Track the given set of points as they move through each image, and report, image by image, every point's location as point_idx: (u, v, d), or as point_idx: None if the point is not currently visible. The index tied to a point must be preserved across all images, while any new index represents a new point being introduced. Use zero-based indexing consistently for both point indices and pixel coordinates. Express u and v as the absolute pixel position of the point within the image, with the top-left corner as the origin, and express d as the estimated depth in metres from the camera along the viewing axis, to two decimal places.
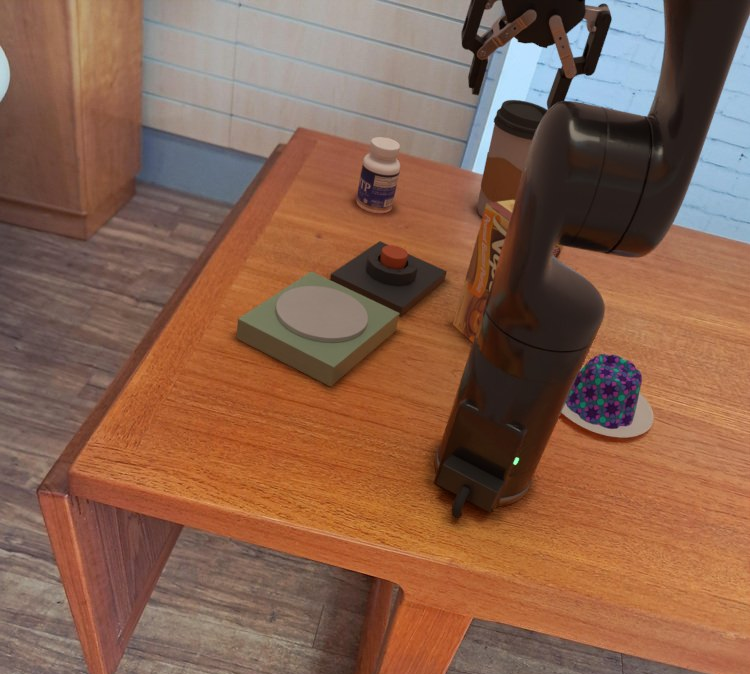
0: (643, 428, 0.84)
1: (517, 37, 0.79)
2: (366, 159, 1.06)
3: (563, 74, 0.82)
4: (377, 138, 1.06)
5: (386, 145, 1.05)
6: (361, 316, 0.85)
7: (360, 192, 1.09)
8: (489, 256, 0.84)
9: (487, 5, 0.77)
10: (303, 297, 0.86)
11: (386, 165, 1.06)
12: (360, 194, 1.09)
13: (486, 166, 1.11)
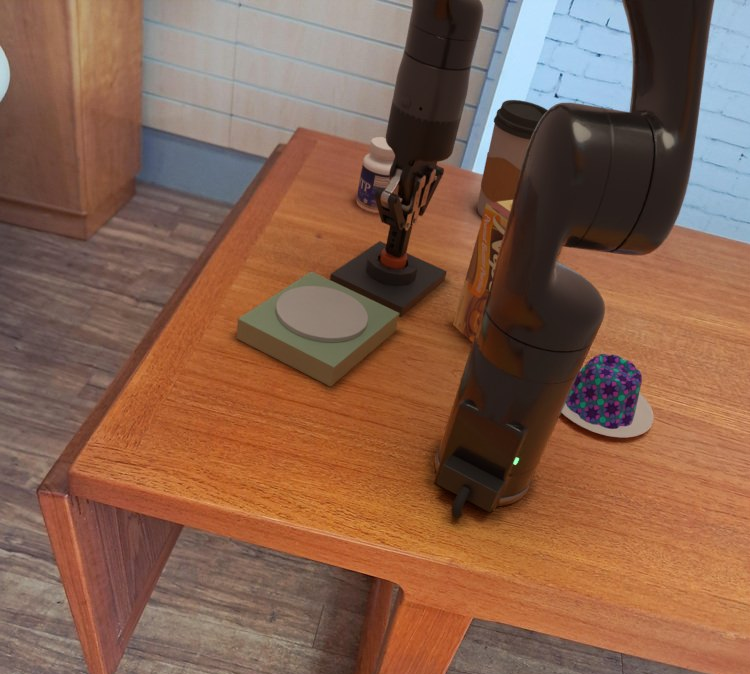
0: (643, 428, 0.84)
1: (409, 200, 0.88)
2: (366, 159, 1.06)
3: None
4: (377, 138, 1.06)
5: (386, 145, 1.05)
6: (361, 316, 0.85)
7: (360, 192, 1.09)
8: (489, 256, 0.84)
9: (400, 200, 0.85)
10: (303, 297, 0.86)
11: (386, 165, 1.06)
12: (360, 194, 1.09)
13: (486, 166, 1.11)
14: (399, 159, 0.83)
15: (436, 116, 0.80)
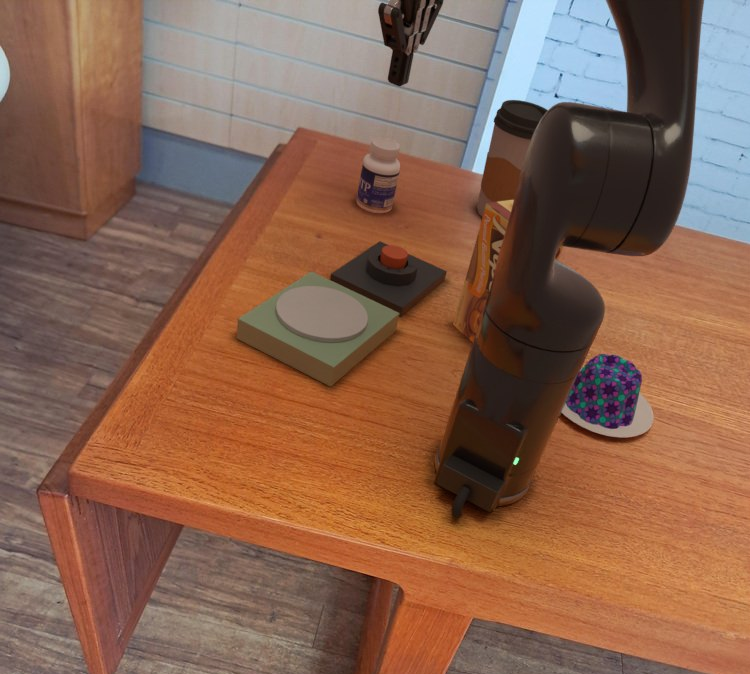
0: (643, 428, 0.84)
1: (410, 21, 0.93)
2: (366, 159, 1.06)
3: None
4: (377, 138, 1.06)
5: (386, 145, 1.05)
6: (361, 316, 0.85)
7: (360, 192, 1.09)
8: (489, 256, 0.84)
9: (402, 16, 0.91)
10: (303, 297, 0.86)
11: (386, 165, 1.06)
12: (360, 194, 1.09)
13: (486, 166, 1.11)
14: None
15: None
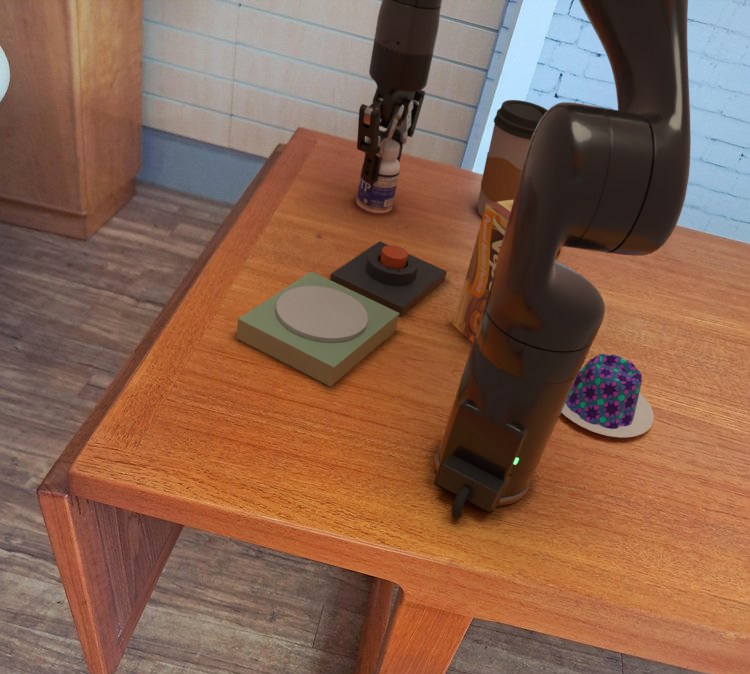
0: (643, 428, 0.84)
1: None
2: None
3: (399, 143, 1.08)
4: None
5: (386, 145, 1.05)
6: (361, 316, 0.85)
7: (360, 192, 1.09)
8: (489, 256, 0.84)
9: (380, 120, 0.98)
10: (303, 297, 0.86)
11: (386, 165, 1.06)
12: (360, 194, 1.09)
13: (486, 166, 1.11)
14: (381, 89, 0.98)
15: (411, 49, 0.94)
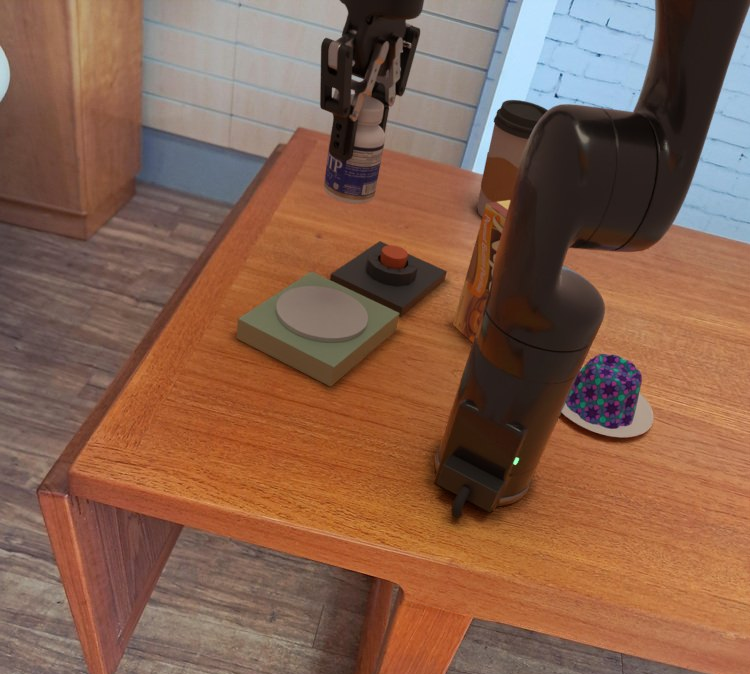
0: (643, 428, 0.84)
1: None
2: None
3: (384, 105, 0.75)
4: (351, 95, 0.74)
5: (364, 104, 0.73)
6: (361, 316, 0.85)
7: (328, 173, 0.77)
8: (489, 256, 0.84)
9: (353, 63, 0.66)
10: (303, 297, 0.86)
11: (364, 133, 0.73)
12: (328, 176, 0.77)
13: (486, 166, 1.11)
14: (353, 16, 0.66)
15: None
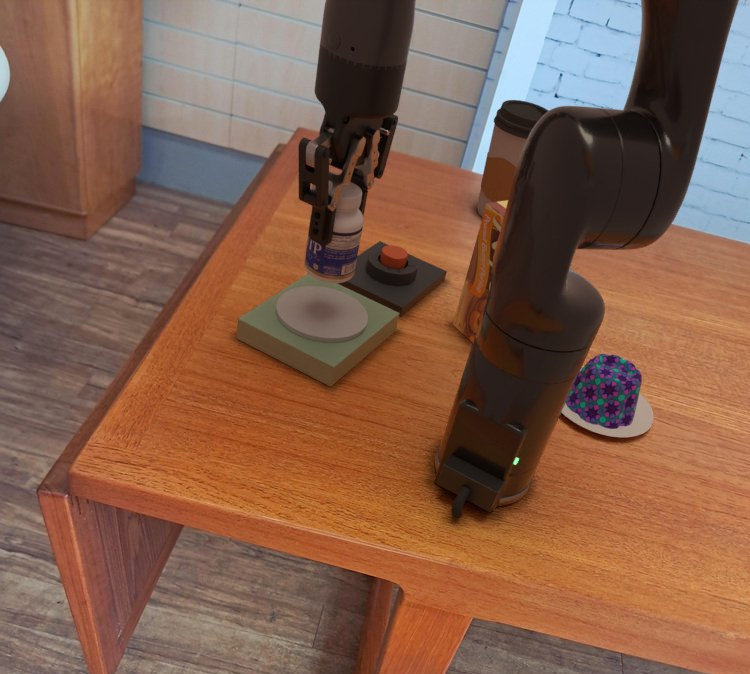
0: (643, 428, 0.84)
1: None
2: None
3: (362, 188, 0.77)
4: None
5: (343, 191, 0.74)
6: (361, 316, 0.85)
7: (308, 254, 0.78)
8: (489, 256, 0.84)
9: (330, 161, 0.68)
10: (303, 297, 0.86)
11: (343, 219, 0.75)
12: (308, 257, 0.79)
13: (486, 166, 1.11)
14: (330, 116, 0.67)
15: (372, 59, 0.63)
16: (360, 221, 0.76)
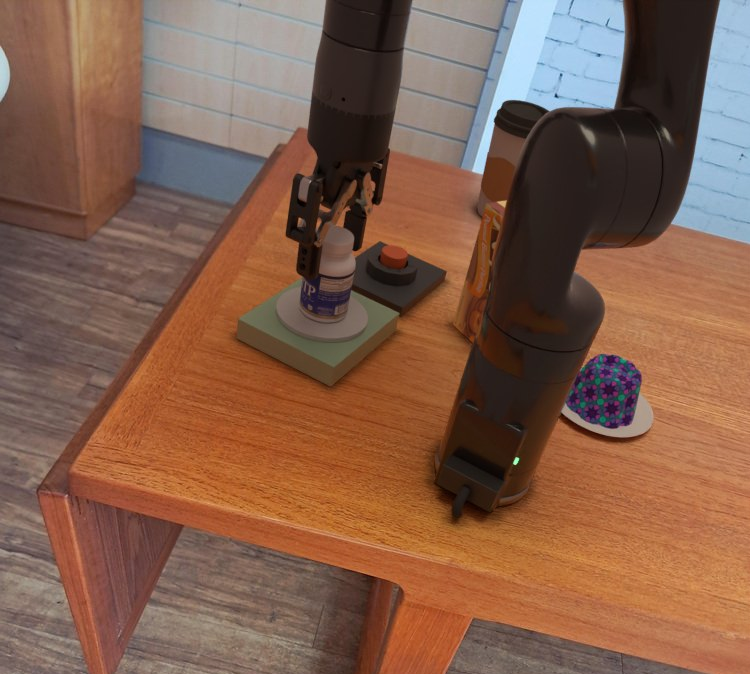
0: (643, 428, 0.84)
1: None
2: None
3: (362, 215, 0.80)
4: None
5: (336, 237, 0.78)
6: (361, 316, 0.85)
7: (302, 295, 0.82)
8: (489, 256, 0.84)
9: (321, 198, 0.70)
10: None
11: (335, 264, 0.78)
12: (303, 298, 0.82)
13: (486, 166, 1.11)
14: (322, 161, 0.70)
15: (362, 108, 0.66)
16: (352, 265, 0.80)
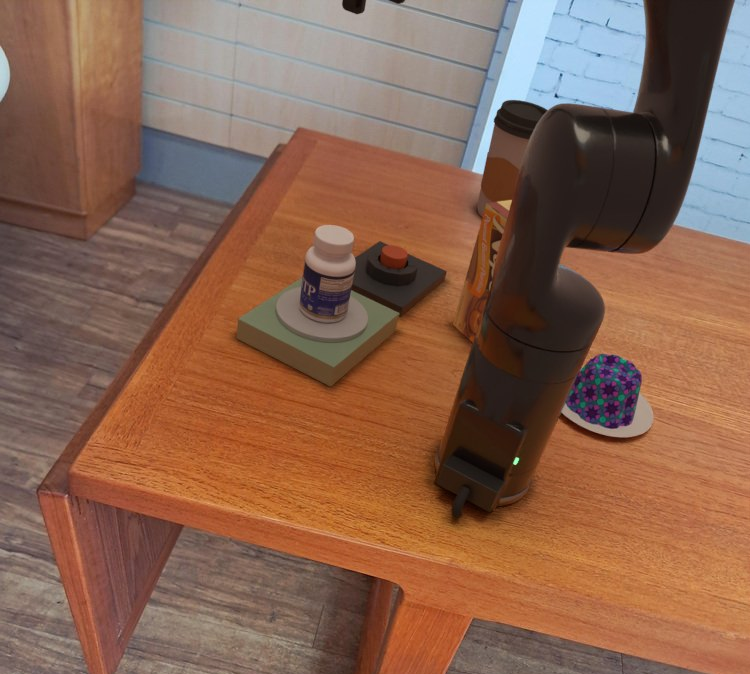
0: (643, 428, 0.84)
1: None
2: (309, 255, 0.79)
3: None
4: (324, 226, 0.79)
5: (336, 237, 0.78)
6: (361, 316, 0.85)
7: (302, 295, 0.82)
8: (489, 256, 0.84)
9: None
10: None
11: (335, 264, 0.78)
12: (303, 298, 0.82)
13: (486, 166, 1.11)
14: None
15: None
16: (352, 265, 0.80)
